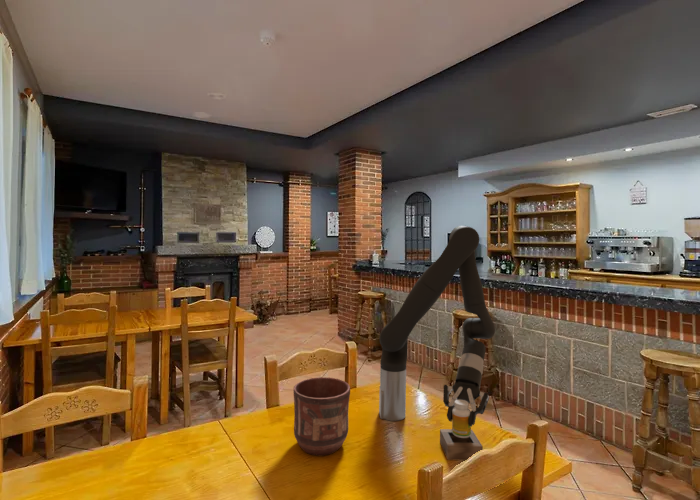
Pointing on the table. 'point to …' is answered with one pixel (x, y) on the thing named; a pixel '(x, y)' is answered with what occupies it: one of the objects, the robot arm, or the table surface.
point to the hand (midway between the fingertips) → (460, 422)
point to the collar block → (459, 445)
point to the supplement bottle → (461, 419)
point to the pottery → (321, 414)
